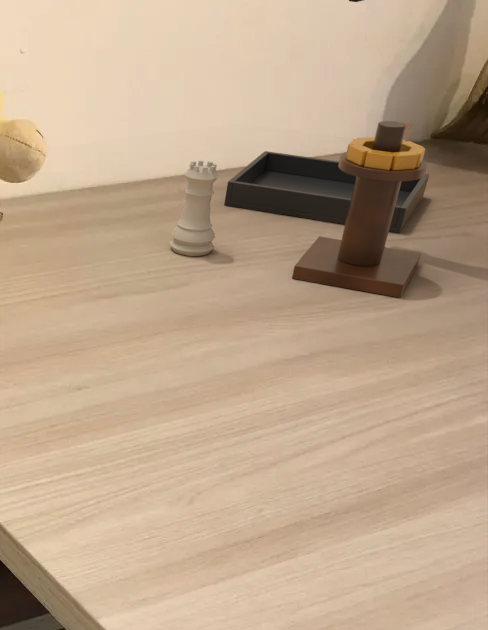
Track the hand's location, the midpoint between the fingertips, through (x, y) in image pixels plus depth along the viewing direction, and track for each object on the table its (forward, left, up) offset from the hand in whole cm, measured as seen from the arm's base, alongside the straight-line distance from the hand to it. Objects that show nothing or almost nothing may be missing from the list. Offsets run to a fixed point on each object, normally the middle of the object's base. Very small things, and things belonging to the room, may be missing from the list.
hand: (428, 9), depth 94 cm
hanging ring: (-1, +7, -10) cm, 12 cm away
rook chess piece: (+15, +12, -21) cm, 29 cm away
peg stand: (-1, +10, -20) cm, 23 cm away
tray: (+7, -12, -20) cm, 25 cm away
